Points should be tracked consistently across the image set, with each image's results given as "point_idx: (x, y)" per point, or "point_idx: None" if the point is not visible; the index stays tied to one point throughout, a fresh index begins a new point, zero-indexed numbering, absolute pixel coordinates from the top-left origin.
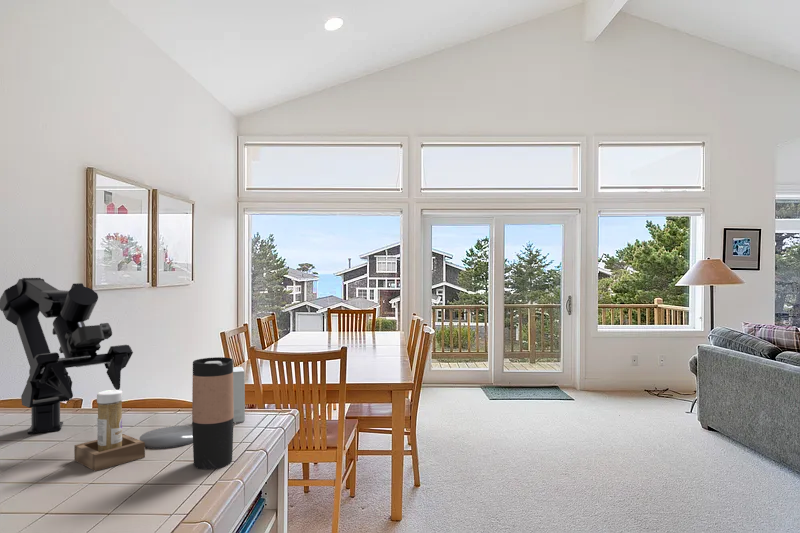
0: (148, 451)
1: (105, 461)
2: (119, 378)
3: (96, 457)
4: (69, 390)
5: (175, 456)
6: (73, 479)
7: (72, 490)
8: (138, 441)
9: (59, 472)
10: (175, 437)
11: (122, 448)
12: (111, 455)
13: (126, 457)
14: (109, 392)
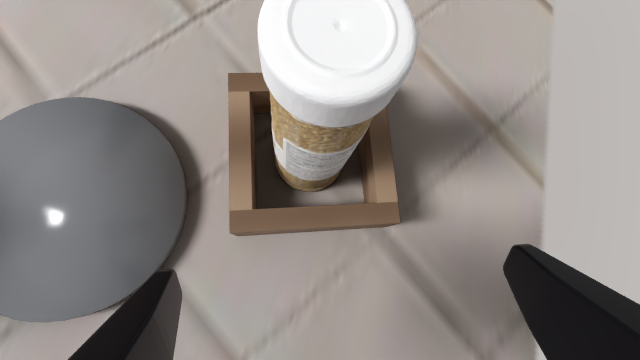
0: (202, 138)
1: None
2: (95, 343)
3: None
4: (564, 271)
5: (176, 39)
6: (423, 81)
7: (441, 20)
8: (237, 97)
9: (437, 157)
10: (83, 153)
11: None
12: None
13: None
14: (350, 6)
